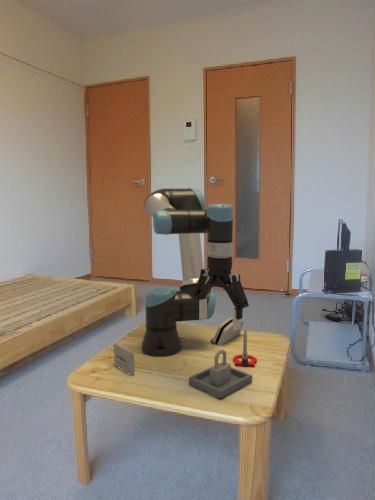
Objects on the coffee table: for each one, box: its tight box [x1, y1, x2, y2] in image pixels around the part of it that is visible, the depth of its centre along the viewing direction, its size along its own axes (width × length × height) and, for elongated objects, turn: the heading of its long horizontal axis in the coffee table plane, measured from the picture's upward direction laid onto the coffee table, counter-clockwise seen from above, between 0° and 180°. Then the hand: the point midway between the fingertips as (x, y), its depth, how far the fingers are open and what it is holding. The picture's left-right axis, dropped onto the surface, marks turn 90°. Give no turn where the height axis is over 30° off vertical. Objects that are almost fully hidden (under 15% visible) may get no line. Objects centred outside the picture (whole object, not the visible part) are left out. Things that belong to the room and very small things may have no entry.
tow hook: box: [232, 329, 258, 368], centre depth 140 cm, size 8×13×9 cm
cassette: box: [113, 342, 135, 376], centre depth 134 cm, size 12×2×8 cm, turn 39°
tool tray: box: [188, 366, 253, 401], centre depth 123 cm, size 13×15×2 cm
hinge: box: [209, 316, 244, 346], centre depth 162 cm, size 17×5×10 cm, turn 144°
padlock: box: [209, 349, 232, 386], centre depth 123 cm, size 7×4×10 cm, turn 138°
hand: (219, 324), depth 122 cm, fingers open, 13 cm apart
